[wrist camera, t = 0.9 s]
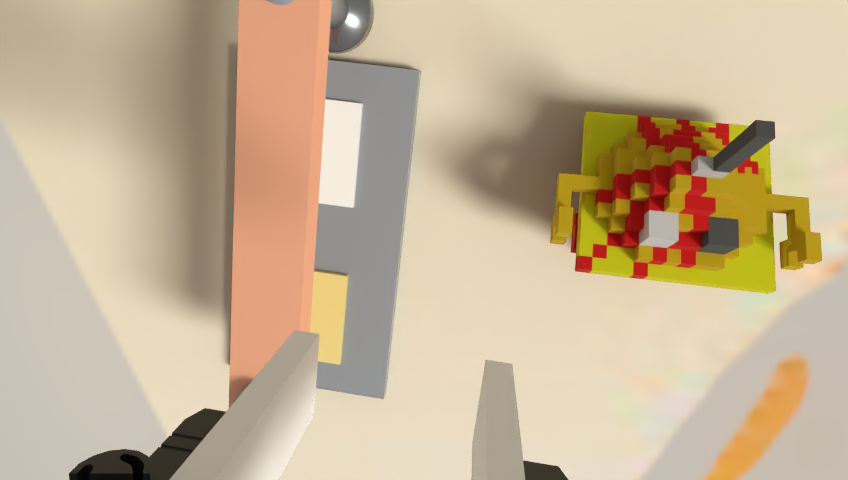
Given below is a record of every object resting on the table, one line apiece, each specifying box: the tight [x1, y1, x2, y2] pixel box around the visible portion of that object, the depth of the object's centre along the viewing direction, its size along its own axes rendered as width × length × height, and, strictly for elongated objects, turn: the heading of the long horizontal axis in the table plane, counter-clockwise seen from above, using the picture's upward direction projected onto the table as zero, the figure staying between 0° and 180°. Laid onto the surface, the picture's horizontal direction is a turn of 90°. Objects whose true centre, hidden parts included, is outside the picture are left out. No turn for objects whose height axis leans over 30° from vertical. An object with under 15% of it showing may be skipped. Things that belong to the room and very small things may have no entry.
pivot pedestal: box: [329, 0, 374, 53], centre depth 34 cm, size 5×5×1 cm
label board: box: [310, 60, 421, 399], centre depth 38 cm, size 24×12×1 cm, turn 173°
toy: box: [550, 111, 822, 293], centre depth 30 cm, size 14×10×15 cm
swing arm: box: [229, 0, 348, 408], centre depth 32 cm, size 26×4×10 cm, turn 173°
